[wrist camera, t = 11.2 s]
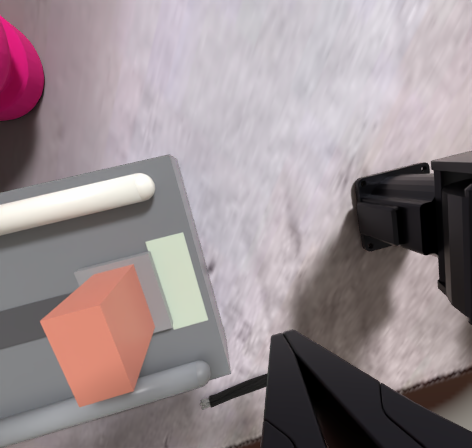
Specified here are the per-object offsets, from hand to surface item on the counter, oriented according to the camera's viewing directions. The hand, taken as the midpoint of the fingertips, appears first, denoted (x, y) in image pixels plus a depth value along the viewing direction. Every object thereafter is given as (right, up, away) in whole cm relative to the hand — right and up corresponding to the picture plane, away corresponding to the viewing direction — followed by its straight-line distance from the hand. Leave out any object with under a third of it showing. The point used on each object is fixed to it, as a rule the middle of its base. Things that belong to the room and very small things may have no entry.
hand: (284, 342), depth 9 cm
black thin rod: (+1, -10, +15) cm, 18 cm away
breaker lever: (-9, 0, +7) cm, 11 cm away
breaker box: (-13, -1, +11) cm, 17 cm away
